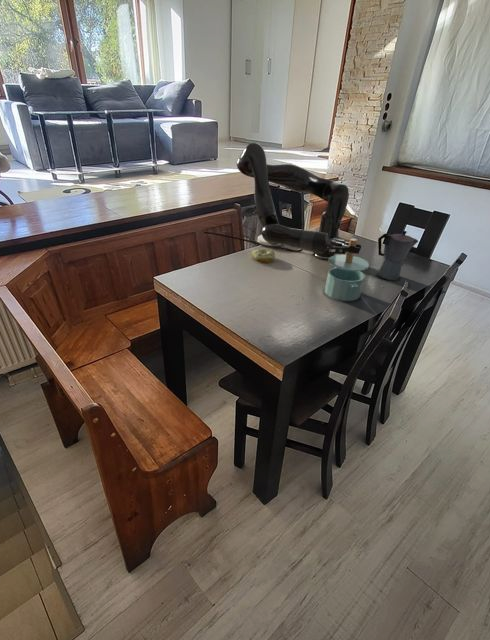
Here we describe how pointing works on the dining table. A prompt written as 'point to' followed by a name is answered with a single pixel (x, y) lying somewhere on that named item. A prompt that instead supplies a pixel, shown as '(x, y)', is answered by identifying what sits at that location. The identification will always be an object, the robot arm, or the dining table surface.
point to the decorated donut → (263, 255)
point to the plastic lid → (262, 241)
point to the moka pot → (395, 254)
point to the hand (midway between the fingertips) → (359, 249)
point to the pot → (344, 284)
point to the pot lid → (349, 260)
